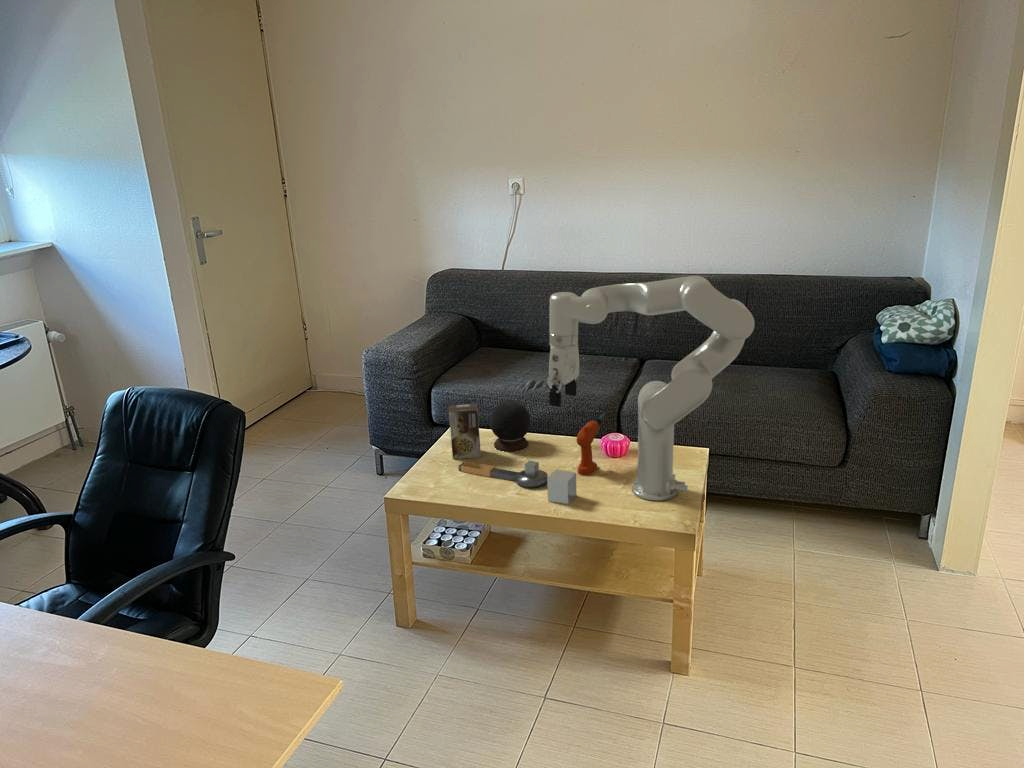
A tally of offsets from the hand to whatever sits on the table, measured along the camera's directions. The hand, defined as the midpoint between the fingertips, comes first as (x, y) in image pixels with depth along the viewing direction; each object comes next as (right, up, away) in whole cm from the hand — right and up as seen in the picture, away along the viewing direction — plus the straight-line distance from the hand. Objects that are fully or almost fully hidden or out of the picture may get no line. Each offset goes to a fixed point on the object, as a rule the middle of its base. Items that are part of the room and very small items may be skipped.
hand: (563, 400), depth 198 cm
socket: (0, -27, +3) cm, 27 cm away
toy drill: (+11, -20, +24) cm, 33 cm away
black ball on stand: (-14, -16, +40) cm, 45 cm away
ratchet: (-17, -23, +18) cm, 34 cm away
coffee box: (-28, -18, +34) cm, 48 cm away
